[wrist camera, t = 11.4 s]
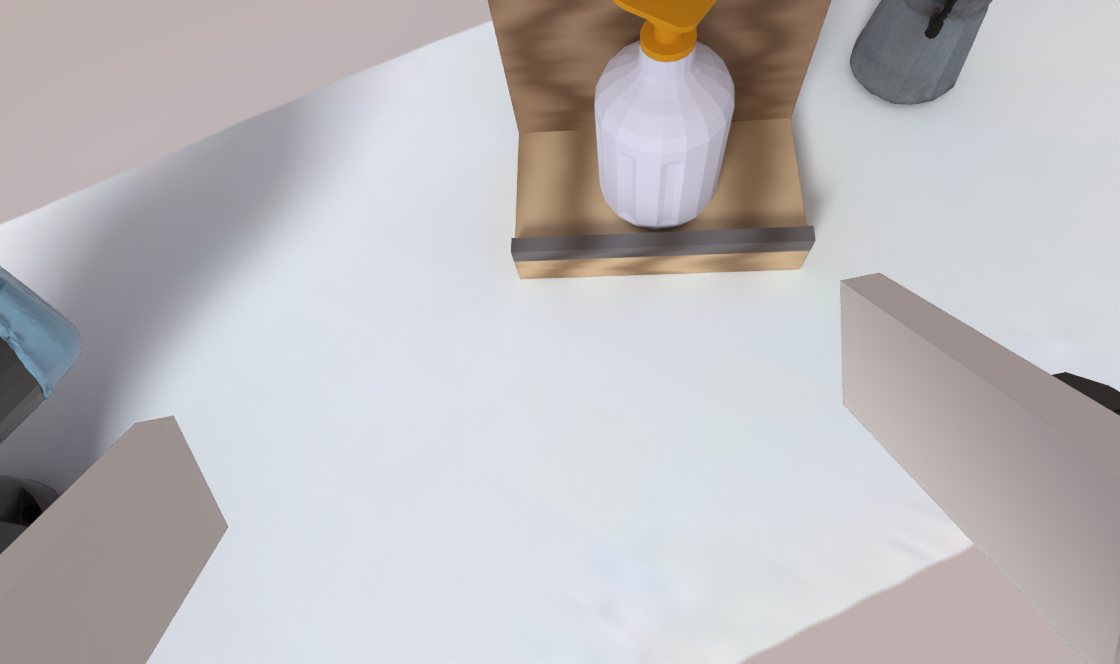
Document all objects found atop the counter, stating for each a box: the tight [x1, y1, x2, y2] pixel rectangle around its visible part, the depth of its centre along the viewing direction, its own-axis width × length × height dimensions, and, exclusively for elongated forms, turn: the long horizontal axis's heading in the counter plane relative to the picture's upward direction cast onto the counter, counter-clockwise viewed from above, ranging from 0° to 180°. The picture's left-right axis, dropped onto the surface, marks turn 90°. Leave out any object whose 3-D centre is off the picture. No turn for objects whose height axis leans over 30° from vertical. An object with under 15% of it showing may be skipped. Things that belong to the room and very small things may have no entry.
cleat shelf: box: [488, 0, 831, 279], centre depth 41 cm, size 22×14×30 cm, turn 90°
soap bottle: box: [594, 0, 735, 230], centre depth 40 cm, size 9×9×25 cm
